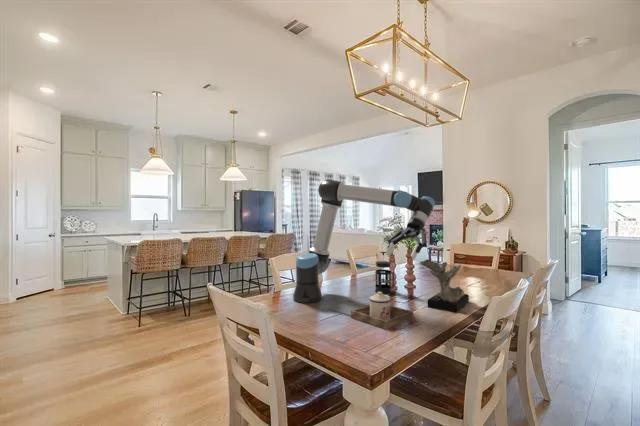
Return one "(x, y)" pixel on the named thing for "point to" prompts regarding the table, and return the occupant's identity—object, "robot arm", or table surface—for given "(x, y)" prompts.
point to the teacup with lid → (380, 306)
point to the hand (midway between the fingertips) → (399, 256)
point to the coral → (446, 288)
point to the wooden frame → (361, 315)
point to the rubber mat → (346, 308)
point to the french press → (383, 287)
